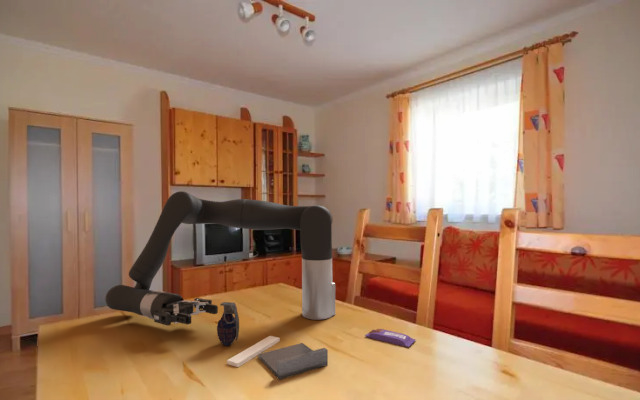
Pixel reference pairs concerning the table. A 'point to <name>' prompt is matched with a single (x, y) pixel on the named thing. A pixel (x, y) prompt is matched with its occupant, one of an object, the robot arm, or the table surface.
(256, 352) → the door edge strip
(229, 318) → the hand grenade
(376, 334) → the snack package
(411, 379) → the table surface
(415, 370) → the table surface
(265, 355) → the plate
